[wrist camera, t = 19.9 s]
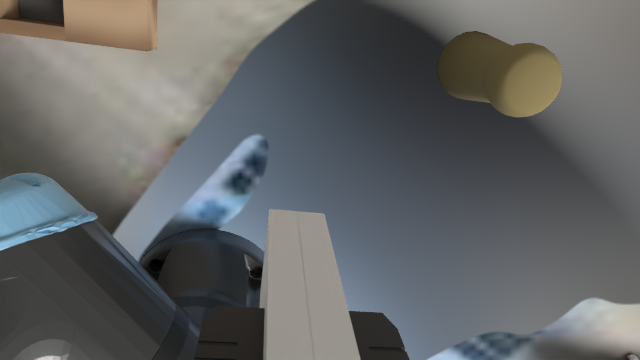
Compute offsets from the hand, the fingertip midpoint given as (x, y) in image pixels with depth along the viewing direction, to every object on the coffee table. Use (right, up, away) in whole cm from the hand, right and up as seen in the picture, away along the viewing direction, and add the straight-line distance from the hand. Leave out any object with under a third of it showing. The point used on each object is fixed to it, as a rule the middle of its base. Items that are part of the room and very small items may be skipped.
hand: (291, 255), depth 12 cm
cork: (+14, +13, +29) cm, 34 cm away
